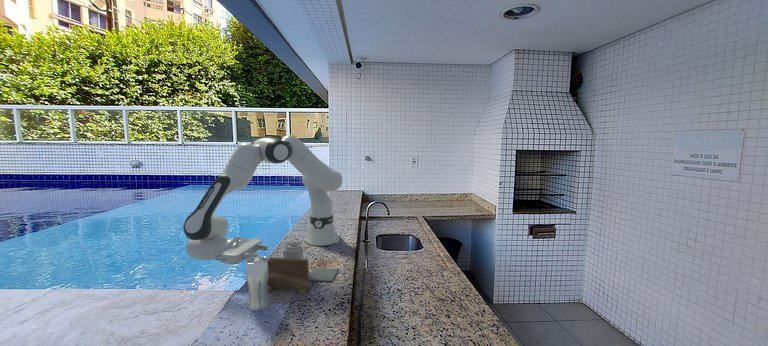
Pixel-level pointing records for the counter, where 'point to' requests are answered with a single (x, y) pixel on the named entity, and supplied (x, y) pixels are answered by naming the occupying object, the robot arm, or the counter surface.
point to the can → (293, 251)
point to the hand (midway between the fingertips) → (262, 251)
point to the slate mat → (322, 275)
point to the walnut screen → (288, 275)
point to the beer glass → (257, 282)
